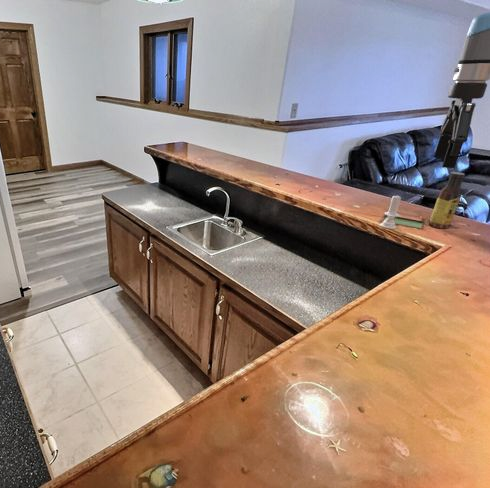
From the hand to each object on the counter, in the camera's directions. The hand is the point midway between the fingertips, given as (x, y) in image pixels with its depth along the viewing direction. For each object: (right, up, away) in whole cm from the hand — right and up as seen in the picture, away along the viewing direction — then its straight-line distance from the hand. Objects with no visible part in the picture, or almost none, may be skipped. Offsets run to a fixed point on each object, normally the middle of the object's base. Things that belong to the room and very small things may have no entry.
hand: (443, 162), depth 101 cm
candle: (+2, -17, +28) cm, 33 cm away
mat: (+10, -15, +32) cm, 37 cm away
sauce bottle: (+20, -17, +28) cm, 39 cm away
